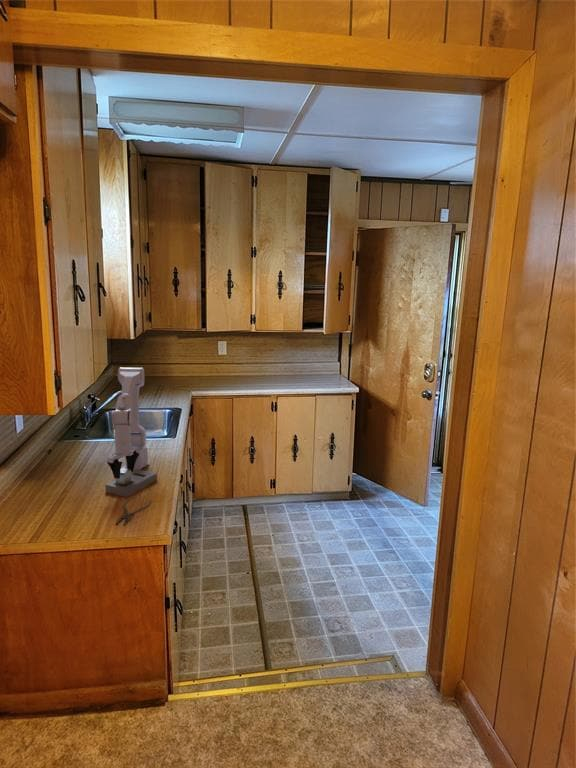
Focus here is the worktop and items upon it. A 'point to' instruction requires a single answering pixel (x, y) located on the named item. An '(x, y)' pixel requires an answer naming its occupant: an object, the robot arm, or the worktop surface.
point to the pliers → (129, 516)
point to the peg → (124, 477)
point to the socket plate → (132, 483)
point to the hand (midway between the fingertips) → (123, 474)
